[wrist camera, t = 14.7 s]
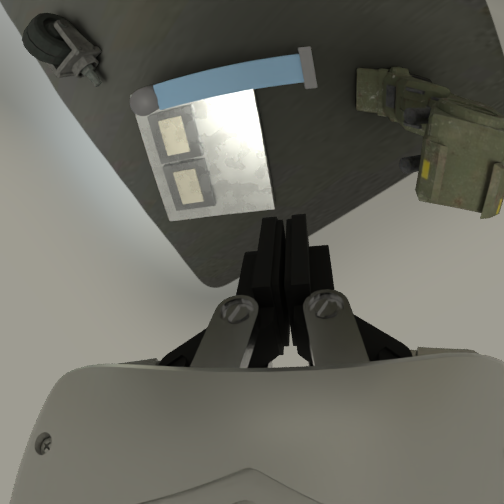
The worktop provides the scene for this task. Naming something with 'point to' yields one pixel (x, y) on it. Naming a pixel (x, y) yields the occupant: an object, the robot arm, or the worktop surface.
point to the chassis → (209, 156)
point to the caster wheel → (61, 47)
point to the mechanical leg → (441, 138)
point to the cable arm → (226, 81)
